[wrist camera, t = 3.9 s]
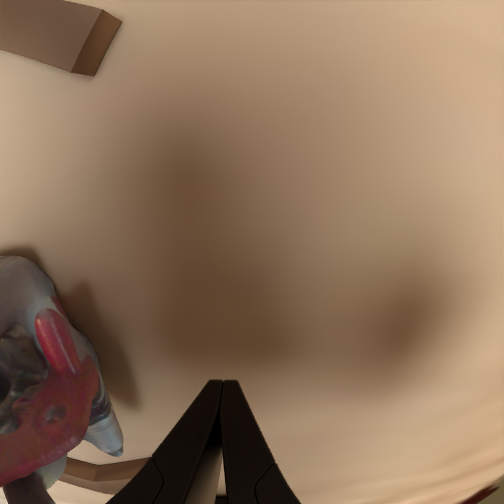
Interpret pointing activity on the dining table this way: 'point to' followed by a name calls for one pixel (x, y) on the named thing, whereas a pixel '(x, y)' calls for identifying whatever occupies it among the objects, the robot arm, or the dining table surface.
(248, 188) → the dining table surface
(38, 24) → the bent brown bar
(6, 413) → the brake caliper
